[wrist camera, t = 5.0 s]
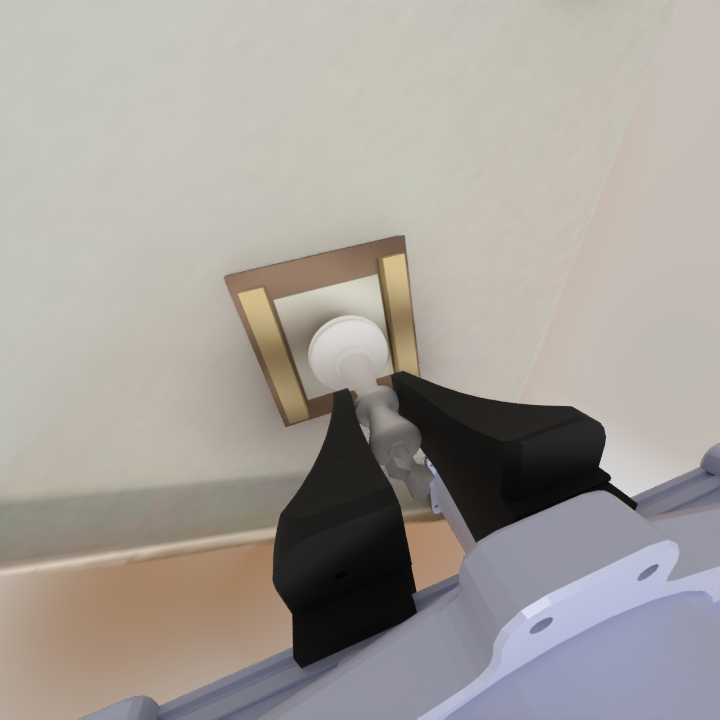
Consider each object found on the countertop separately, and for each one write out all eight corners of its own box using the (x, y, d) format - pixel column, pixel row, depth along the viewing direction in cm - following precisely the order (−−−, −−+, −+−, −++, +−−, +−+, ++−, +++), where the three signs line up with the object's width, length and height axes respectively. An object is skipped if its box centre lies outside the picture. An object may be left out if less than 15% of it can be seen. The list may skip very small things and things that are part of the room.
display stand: (415, 377, 24) (427, 390, 22) (285, 418, 23) (285, 436, 20) (398, 235, 19) (412, 234, 17) (227, 275, 17) (219, 279, 15)
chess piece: (359, 396, 18) (429, 550, 10) (293, 370, 16) (309, 539, 7) (399, 337, 17) (522, 454, 8) (334, 299, 15) (410, 406, 6)
